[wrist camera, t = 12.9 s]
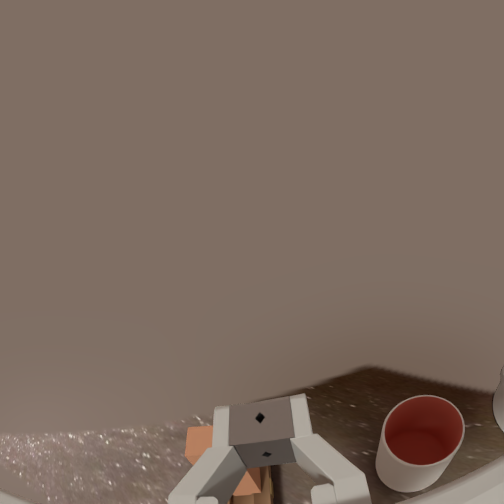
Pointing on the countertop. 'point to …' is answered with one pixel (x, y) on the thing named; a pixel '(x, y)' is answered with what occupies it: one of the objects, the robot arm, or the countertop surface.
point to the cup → (418, 442)
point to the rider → (202, 440)
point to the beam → (263, 500)
